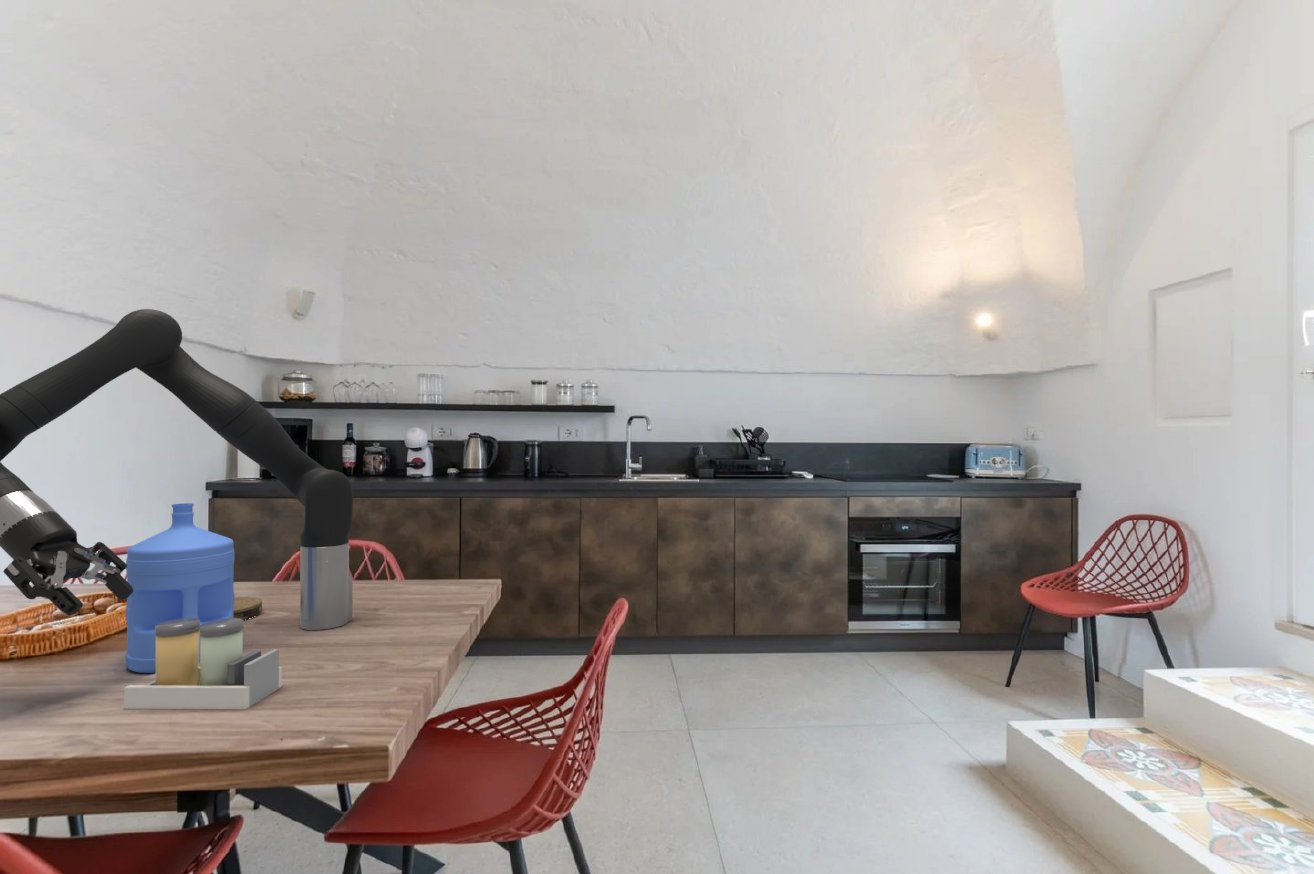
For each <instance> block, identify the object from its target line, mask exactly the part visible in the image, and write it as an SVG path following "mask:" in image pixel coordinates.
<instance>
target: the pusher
mask: <svg viewBox="0 0 1314 874" xmlns="http://www.w3.org/2000/svg"><path fill="white" fill-rule="evenodd" d="M260 656H262V650H254V651H252V652H250V653H247V654H245V655H243V657H241V658H239V659H237V660H236V661H234V662H232V663H230V664H228V669H227V686H244V665H245V664H247V663H249V662H251V661H252V660H254V659H256V658H258V657H260Z"/></svg>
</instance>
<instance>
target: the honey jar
mask: <svg viewBox="0 0 1314 874" xmlns="http://www.w3.org/2000/svg"><path fill="white" fill-rule="evenodd" d="M199 629H200V619H198V618H182V619H174V620H169V621H165V622H161V623H159V624H157V625H155V635H156V666H155V673H154V674H155V678H154V680H155V685H179V686H199V667H200V662H199Z"/></svg>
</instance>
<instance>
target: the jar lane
mask: <svg viewBox="0 0 1314 874" xmlns="http://www.w3.org/2000/svg"><path fill="white" fill-rule="evenodd" d="M279 657H280V650H279V649H277V648H276V649H272V650H270V651H268V652H266V653H263V654H261V656H260V657H258V658H256V659H254V660H252V661H251V662H249V663H247V664H245V665H244V686H200V666H199V686H179V685H155V679H154V680H152V681H149V682H148V683H145V684H143V685H139V684H138V685H136V684H129V685H126V686H125V687H124V690H123V693H124V695H123V696H124V701H123V702H124V703H123V706H124V707H123V708H124V709H125V710H130V709H131V710H247V709H249V708H250V707H252V706H253V705H255V704H257V703H258V702H260V701H261V700H262V699H264V698H266V697H267V696H269V695H271V694H272V693H273V692H275V691H278V689H280V688H281V687H283V667H282V666H280V661H279V660H280V659H279Z"/></svg>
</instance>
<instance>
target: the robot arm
mask: <svg viewBox="0 0 1314 874" xmlns="http://www.w3.org/2000/svg"><path fill="white" fill-rule="evenodd" d="M182 340H183V332H182V328H181V326H180V323H178V321H177V320H176V319H175V318H174V317H173V316H172V315H170V314H168V313H167V312H164V311H161V310H158V309H149V308H142V309H137V310H133V311H131V312H128V313H127V314H126V315H123V317H122V318H121V319H120V320H119V321H118V322H117V323H116V324H115V326H113V327H112V328H111V329H110V330H109V331H107V332H106V333H105V334H104V335H102V336H101V337H100V338H99V339H96V340H95V341H94V342H92V343H91V344H89V345H88V346H85V347H84V348H83V349H81V350H79V351H78V352H77V353H75V354H72V356H69V357H68V358H66V359H64V360H62V361H60V362H58V363H55V364H54V365H52V366H51V367H48V368H47V369H45V370H42V371H41V372H38V373H37V374H35V375H32V376H31V377H29V378H28V379H25V380H23V381H22V382H19V383H17V384H16V385H14V386H12V387H11V388H9V389H7V390H5V391H3V392H2V393H0V548H1V549H2V550H3V551H4V552H5V553H6V554H7V555H8V556H9V557H10V558H12V561H11V562H9V564H8V565H7V566H6V567H5V568H4V569H3V573H4V575H5V576H6V577H7V578H8V579H9V580H10V582H12V584H13V585H14V586H15V587H16V588H17V589H18V590H19V591H20V593H22V595H23V596H24V597H25V598H26V599H28V600H35V599H36V598H42V599H43V600H49V601H50V602H52V604H53V605H54V606H55V607H56V608H57V609H58V610H59V611H60V612H62V613H64V614H66V616H68V617H69V616H73V615H76V614H77V613H78V612H79V611H80V610H81V609H82V608H83V605H84V604H83V602H82V600H80V599H79V598H78V597H77V596H76V595H75V594H74V593H73V592H72V591H71V590H70V589H69V588H68V587H67V586H65V587H63V586H64V582H65V581H68V580H69V579H77V578H82V579H84V580H87V581H91V580H95V581H98V582H101V583H103V584H104V585H105V587H106V588H107V589H108V590H109V591H110V592H111V593H113V595H114V596H115V597H116V598H117V599H118V600H120V601H123V600H127V598H128V597H129V596H130V595H131V594H132V593H133V588H132V586H131V585H130V584H129V583H128V582H127V579H125V578H124V577H123V576H122V575H121V574H122V573H123V571H125V570H126V568H127V564H126V561H124V560H123V559H121V558H120V556H118V555H117V554H116V553H115V552H114V551H112V550H111V549H110V548H109V547H108V546H107V545H106V544H105V543H103V542H102V541H98V542H96V543H95V544H94V545H93V546H90V547H86V546H84V545H81V544H80V543H79V542H78V533H77V531H76V530H75V529H74V528H73V527H72V526H71V525H70V524H69V523H68V522H67V520H65V519H64V518H63V517H62V516H61V514H59V512H57V511H56V510H55V509H54V507H52V506H51V505H50V504H49V503H48V502H47V501H46V500H45V499H43V498H42V497H40V496H39V495H38V494H37V493H35V492H34V491H33V490H32V489H31V488H30V487H29V486H28V485H27V484H26V483H25V482H24V481H23V480H22V479H21V478H20V477H18V476H17V474H16V473H13V471H11V470H10V469H8V468H7V467H6V466H5V465H4V464H3V463H2V462H1V461H2V460H4V459H5V458H6V457H7V456H8V455H9V454H10V453H12V451H13V450H14V449H16V448H17V447H18V446H19V445H20V443H22V441H23V440H24V439H26V437H28V436H30V435H31V434H33V433H34V432H36V431H38V430H39V429H41V428H44V427H45V426H46V425H48V424H49V423H51V422H53V421H54V420H56V419H58V418H59V417H61V416H63V415H64V414H66V413H67V412H69V411H70V410H72V408H74V407H76V406H77V405H79V404H80V403H82V402H83V401H85V399H88V398H89V396H91V395H93V394H94V393H95V392H97V391H98V390H100V389H101V388H103V387H104V386H105V385H107V384H108V383H110V382H112V381H113V380H115V379H117V378H119V377H121V376H123V375H124V374H126V373H128V372H130V371H132V370H134V369H137V370H139V371H140V372H142V373H143V374H144V375H146V376H147V377H150V378H151V379H152V380H154V381H155V382H156V383H158V384H159V385H161V386H163V387H164V388H165V389H166V390H168V391H169V392H170V393H171V394H173V395H174V396H175V397H176V398H177V399H178V400H179V401H180V402H181V403H183V404H184V405H185V407H187V409H189V410H190V411H191V412H192V413H194V414H195V415H196V416H197V417H198V418H199V419H200V420H202V421H203V422H204V423H205V424H206V425H208V426H209V427H210V428H211V429H212V430H213V431H214V432H215V433H217V434H218V435H219V436H220V437H221V438H222V439H224V440H225V441H227V443H229V444H230V445H231V446H232V447H234V448H235V449H236V450H238V451H239V452H241V453H242V454H243V455H245V456H246V457H247V458H249V459H250V460H252V461H253V462H254V463H256V464H258V465H259V466H261V467H262V468H264V469H265V470H267V471H268V472H270V474H272V476H274V477H275V478H277V479H276V480H278V481H280V483H281V484H282V485H283V486H285V488H286V489H287V490H288V491H289V492H290V493H291V494H292V495H293V496H294V497H295V498H296V499H297V500H298V501H299V502H300V503H301V505H302V506H303V507H304V524H303V525H304V526H303V530H302V531H301V533H300V539H299V540H300V541H299V542H300V546H299V547H300V548H299V549H300V551H299V552H300V553H299V554H300V555H299V559H300V561H299V562H300V563H299V564H300V567H299V569H300V572H299V576H300V577H299V578H300V581H299V582H300V583H299V584H300V588H299V589H300V590H299V594H300V595H299V596H300V598H299V601H300V604H299V606H300V607H299V610H300V612H299V617H300V618H299V621H300V622H299V623H300V625H299V626H300V627H299V628H300V629H302V630H307V631H316V630H317V631H320V630H328V629H334V628H338V627H341V626H344V625H346V624H348V623H349V622H350V621H352V620H353V614H354V613H353V603H354V601H353V598H354V597H353V596H354V595H353V594H354V593H353V589H354V588H353V582H354V580H353V576H351V575H349V574H350V573H349V572H350V566H349V565H350V555H349V554H350V548H349V547H350V543H349V542H350V533H351V531H352V527H353V511H354V510H353V506H354V493H353V485H352V482H351V481H350V479H349V478H348V476H347V475H345V473H342V472H341V471H337V470H335V469H327V468H326V467H324V466H323V465H322V464H320V463H318V462H317V461H316V460H315V459H313V458H311V456H309V455H307V454H306V453H305V452H304V451H303V450H301V449H300V448H299V447H298V445H296V443H295V442H294V441H293V439H292V438H291V436H290V435H289V434H288V433H287V431H286V430H285V428H284V427H283V426H282V424H281V423H280V422H279V421H278V420H277V418H275V416H274V415H273V414H272V413H270V412H269V411H268V410H267V409H266V407H264V406H263V405H262V404H260V403H259V401H257V400H256V399H255V398H254V397H252V396H251V395H250V394H248V393H247V392H245V391H244V390H242V388H240V387H238V386H236V385H235V384H233V383H230V382H229V381H227V380H225V379H223V378H221V377H220V376H217V375H216V374H214V373H213V372H211V371H209V370H207V369H206V368H204V367H203V366H202V365H201V364H199V362H197V361H196V360H195V359H194V358H193V357H192V356H191V355H189V353H188V352H186V350H184V349H183V347H182V346H181V344H182V342H183V341H182ZM111 563H112V564H113V565H114V566H113V565H111ZM91 564H93V565H94V566H93V567H92V569H90V567H91ZM89 569H90V570H89ZM99 571H103V572H104V573H105V574H104V573H100V572H99ZM30 583H31V584H32V585H33V586H31V584H30Z"/></svg>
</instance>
